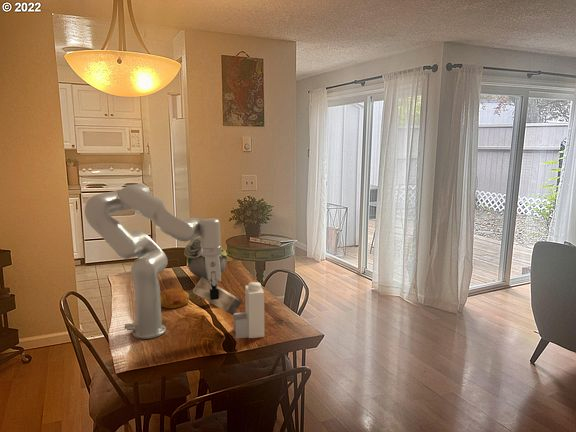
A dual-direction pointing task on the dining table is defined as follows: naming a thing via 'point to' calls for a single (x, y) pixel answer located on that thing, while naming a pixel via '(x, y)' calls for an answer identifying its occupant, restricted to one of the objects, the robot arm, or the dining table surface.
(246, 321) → the post
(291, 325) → the dining table surface
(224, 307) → the rail
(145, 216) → the robot arm
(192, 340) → the dining table surface
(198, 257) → the flower arrangement
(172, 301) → the croissant
